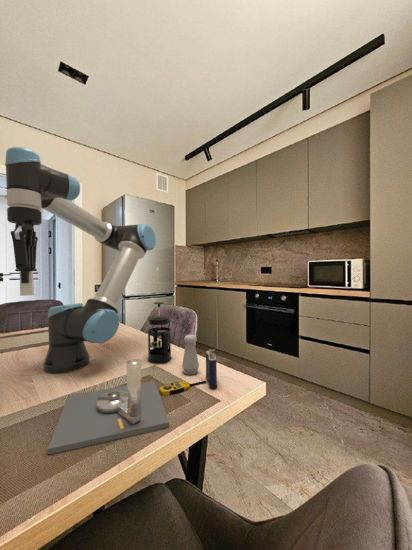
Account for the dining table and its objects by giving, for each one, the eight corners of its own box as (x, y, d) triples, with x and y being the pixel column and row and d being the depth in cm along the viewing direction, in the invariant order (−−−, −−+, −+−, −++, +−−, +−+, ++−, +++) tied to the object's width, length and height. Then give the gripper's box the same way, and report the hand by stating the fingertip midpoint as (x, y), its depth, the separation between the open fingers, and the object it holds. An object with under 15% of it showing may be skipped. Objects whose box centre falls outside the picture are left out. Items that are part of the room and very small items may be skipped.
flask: (205, 376, 82) (205, 345, 82) (213, 376, 83) (213, 344, 83) (209, 390, 73) (209, 354, 73) (219, 389, 74) (219, 354, 73)
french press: (143, 357, 101) (142, 301, 100) (165, 353, 106) (164, 300, 105) (154, 367, 91) (153, 305, 90) (177, 361, 96) (176, 303, 96)
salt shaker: (196, 376, 83) (196, 338, 82) (180, 375, 84) (179, 337, 83) (200, 369, 88) (200, 333, 88) (185, 368, 90) (184, 332, 89)
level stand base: (68, 399, 69) (68, 394, 69) (155, 384, 77) (155, 380, 77) (47, 455, 48) (47, 448, 48) (169, 427, 56) (169, 421, 56)
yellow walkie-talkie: (157, 384, 74) (202, 374, 81) (157, 391, 74) (202, 380, 81) (162, 392, 69) (209, 380, 76) (162, 398, 70) (209, 386, 76)
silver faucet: (91, 404, 63) (90, 352, 63) (120, 393, 69) (119, 345, 69) (122, 431, 53) (121, 368, 52) (153, 414, 59) (152, 358, 58)
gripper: (17, 212, 72) (19, 293, 72) (-4, 201, 60) (-1, 298, 60) (47, 214, 74) (49, 292, 75) (33, 203, 62) (35, 297, 63)
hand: (27, 295), depth 68 cm, fingers closed
